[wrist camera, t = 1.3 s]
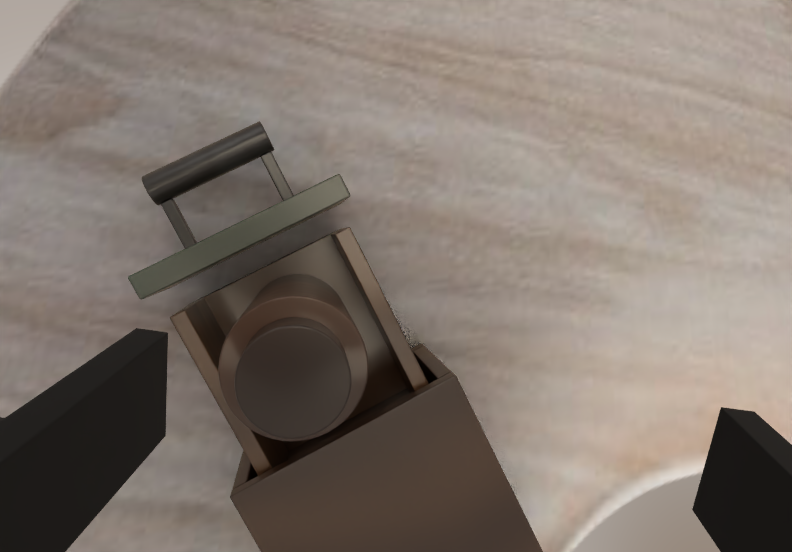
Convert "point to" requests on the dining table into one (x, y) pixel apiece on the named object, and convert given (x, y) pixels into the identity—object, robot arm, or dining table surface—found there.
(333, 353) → the pepper mill
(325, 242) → the drawer
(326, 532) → the cabinet
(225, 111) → the dining table surface
